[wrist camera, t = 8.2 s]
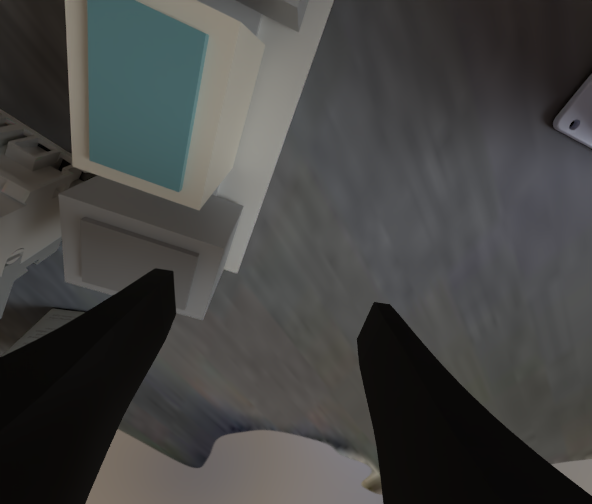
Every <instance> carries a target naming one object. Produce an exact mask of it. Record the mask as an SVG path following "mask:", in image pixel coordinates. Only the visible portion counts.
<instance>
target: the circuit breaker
mask: <svg viewBox="0 0 592 504" xmlns="http://www.w3.org/2000/svg"><path fill="white" fill-rule="evenodd" d="M8 125H9V126H8ZM26 136H27V137H26ZM38 143H40V144H42V145H43V146H45V147H46V148H48V149H50V150H51V151H49V152H47V151H45V150H43V149H42V148H40V147H39V146H38ZM63 159H64V160H66V161H67V162H69V163H70V164H71V165H69V166H66V167H64V168H63V169H62V172H61V171H59V167H60V165H61V163H62V161H63ZM82 171H83V172H84V173H88V172H87V171H84V170H81V169H78V168H75V167H73V166H72V154H71V153H69V152H68V151H66V150H65V149H63V148H61V147H60V146H58V145H57V144H55V143H53V142H52V141H50V140H49V139H47V138H46V137H44V136H42V135H41V134H39V133H38V132H36V131H35V130H33V129H31V128H30V127H28V126H27V125H25V124H23V123H22V122H20V121H19V120H17V119H16V118H14V117H12V116H11V115H9V114H8V113H6V112H5V111H3V110H1V109H0V319H1V318H2V315H3V312H4V309H5V306H6V303H7V300H8V297H9V294H10V291H11V288H12V285H13V282H14V281H15V280H16V279H18V278H19V277H21V276H22V275H23V274H25V273H26V272H27V271H28V270H27V269H26V267H28V266H29V265H31V264H32V263H33V264H35V265H37V264H39V263H40V262H42V261H43V260H45V259H46V258H47V257H49V256H50V255H52V254H53V253H54V252H56V251H57V250H58V248H59V245H60V243H61V240H62V235H61V221H60V208H59V193H61V192H63V191H66V190H68V189H70V188H72V187H74V186H76V185H78V184H80V183H82V182H83V181H82V180H80V179H79V177H80V175H81V172H82Z"/></svg>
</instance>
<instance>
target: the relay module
mask: <svg viewBox="0 0 592 504" xmlns="http://www.w3.org/2000/svg"><path fill="white" fill-rule="evenodd" d="M65 15H66V37H67V58H68V80H69V101H70V123H71V144H72V166H73V167H75V168H78V169H81V170H84V171H87V172H90V173H93V174H96V175H98V176H101V177H104V178H107V179H110V180H113V181H116V182H119V183H121V184H124V185H127V186H130V187H133V188H136V189H139V190H142V191H144V192H147V193H150V194H153V195H156V196H159V197H162V198H164V199H167V200H170V201H173V202H176V203H179V204H182V205H185V206H187V207H190V208H193V209H196V210H200V209H201V208H202V206H203V205H204V204H205V203H206V201H207V200H208V199H209V197H210V196H211V195H212V194H213V192H214V191H215V190H216V188H217V187H218V186H219V185H220V183H221V182H222V181H223V179H224V178H225V177H226V176H227V174H228V173H229V172H230V170H231V169H232V168H233V164H234V161H235V157H236V153H237V149H238V146H239V142H240V138H241V134H242V131H243V127H244V123H245V119H246V116H247V112H248V108H249V104H250V101H251V97H252V93H253V89H254V86H255V82H256V78H257V74H258V71H259V67H260V63H261V60H262V56H263V52H264V48H265V44H264V43H263V42H262V41H261V40H260V39H258V38H257V37H256V36H255V35H254V34H253V33H252V32H251V31H250V30H249V29H248V28H247V27H246V26H245V25H244V24H243V23H241V22H240V21H238V20H236V19H234V18H232V17H230V16H228V15H226V14H224V13H222V12H220V11H217V10H215V9H213V8H211V7H209V6H207V5H205V4H203V3H201V2H199V1H197V0H65Z"/></svg>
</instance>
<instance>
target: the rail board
mask: <svg viewBox="0 0 592 504" xmlns="http://www.w3.org/2000/svg"><path fill="white" fill-rule="evenodd" d="M197 1H199V2H201V3H203V4H205V5H207V6H209V7H211V8H213V9H215V10H217V11H220V12H222V13H224V14H226V15H228V16H230V17H232V18H234V19H236V20H238V21H240V22H241V23H243V24H244V25H245V26H246V27H247V28H248V29H249V30H250V31H251V32H252V33H253V34H254V35H255V36H256V37H257V38H258V39H260V40H261V41H262V42H263V43H264V44H265V48H264V52H263V56H262V60H261V63H260V67H259V71H258V74H257V78H256V82H255V86H254V89H253V93H252V97H251V101H250V104H249V108H248V112H247V116H246V119H245V123H244V127H243V131H242V134H241V138H240V142H239V146H238V149H237V153H236V157H235V161H234V164H233V168H232V169H231V170H230V172H229V173H228V174H227V176H226V177H225V178H224V179H223V181H222V182H221V183H220V185H219V186H218V187H217V188H216V190H215V191H214V192H213V194H212V195H211V196H210V197H209V199H208V200H207V201H206V203H205V204H204V205H203V206H202V208H201V209H200V210H196V209H193V208H190V207H187V206H185V205H182V204H179V203H176V202H173V201H170V200H167V199H164V198H162V197H159V196H156V195H153V194H150V193H147V192H144V191H142V190H139V189H136V188H133V187H130V186H127V185H124V184H121V183H119V182H116V181H113V180H110V179H107V178H104V177H101V176H98V175H97V176H95V177H93V178H91V179H89V180H87V181H85V182H82V183H80V184H78V185H76V186H74V187H72V188H70V189H68V190H66V191H63V192H61V193H59V208H60V221H61V235H62V248H63V262H64V275H65V282H67V283H71V284H74V285H78V286H81V287H85V288H89V289H92V290H96V291H99V292H103V293H107V294H110V295H115V294H116V293H118V292H119V291H121V290H122V289H124V288H125V287H127V286H128V285H130V284H132V283H133V282H135V281H136V280H138V279H139V278H141V277H142V276H144V275H145V274H147V273H148V272H150V271H152V270H153V269H155V268H158V269H164V270H171V271H173V272H174V287H175V302H176V313H179V314H182V315H186V316H190V317H193V318H197V319H200V320H203V318H204V316H205V313H206V311H207V308H208V306H209V304H210V301H211V299H212V296H213V294H214V291H215V289H216V286H217V284H218V282H219V279H220V277H221V274H222V272H223V269H224V270H228V271H231V272H234V273H238V270H239V267H240V265H241V262H242V259H243V256H244V253H245V250H246V248H247V245H248V242H249V239H250V236H251V233H252V231H253V228H254V225H255V222H256V219H257V217H258V214H259V211H260V208H261V205H262V202H263V200H264V197H265V194H266V191H267V188H268V185H269V183H270V180H271V177H272V174H273V171H274V168H275V166H276V163H277V160H278V157H279V154H280V152H281V149H282V146H283V143H284V140H285V137H286V135H287V132H288V129H289V126H290V123H291V120H292V118H293V115H294V112H295V109H296V106H297V103H298V101H299V98H300V95H301V92H302V89H303V87H304V84H305V81H306V78H307V75H308V72H309V70H310V67H311V64H312V61H313V58H314V55H315V53H316V50H317V47H318V44H319V41H320V39H321V36H322V33H323V30H324V27H325V24H326V22H327V19H328V16H329V13H330V10H331V7H332V5H333V2H334V0H197Z"/></svg>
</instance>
